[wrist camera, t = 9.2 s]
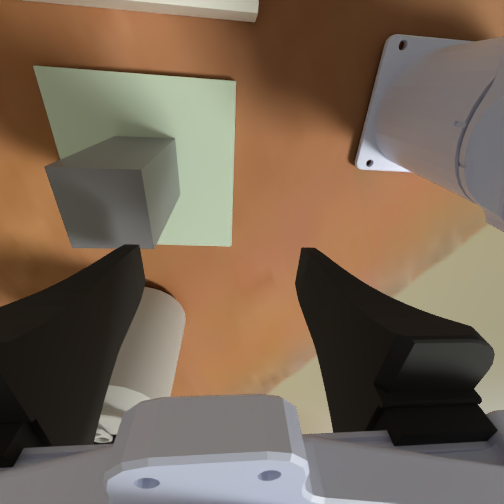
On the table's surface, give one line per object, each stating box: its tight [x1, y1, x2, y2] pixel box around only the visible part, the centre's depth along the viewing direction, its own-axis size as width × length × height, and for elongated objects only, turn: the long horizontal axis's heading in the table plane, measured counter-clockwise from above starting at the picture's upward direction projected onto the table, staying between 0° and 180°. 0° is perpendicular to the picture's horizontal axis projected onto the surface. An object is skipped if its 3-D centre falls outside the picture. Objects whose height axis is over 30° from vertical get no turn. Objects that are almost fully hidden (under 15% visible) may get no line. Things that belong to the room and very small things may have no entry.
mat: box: [33, 66, 236, 246], centre depth 20 cm, size 12×12×1 cm
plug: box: [45, 136, 180, 249], centre depth 16 cm, size 4×4×8 cm
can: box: [93, 287, 186, 445], centre depth 22 cm, size 8×8×12 cm
